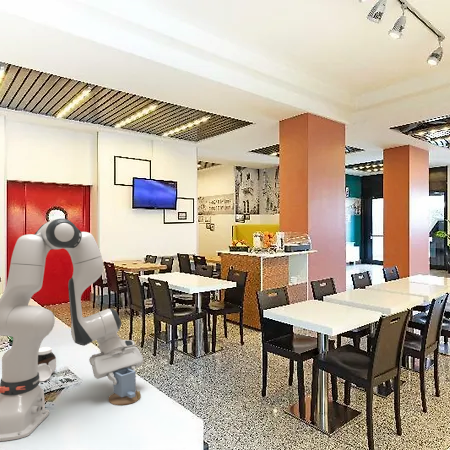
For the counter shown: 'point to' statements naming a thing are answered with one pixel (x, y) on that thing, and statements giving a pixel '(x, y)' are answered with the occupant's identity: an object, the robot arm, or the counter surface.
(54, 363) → the spread jar
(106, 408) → the counter surface
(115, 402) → the post plate
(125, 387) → the open square bin
